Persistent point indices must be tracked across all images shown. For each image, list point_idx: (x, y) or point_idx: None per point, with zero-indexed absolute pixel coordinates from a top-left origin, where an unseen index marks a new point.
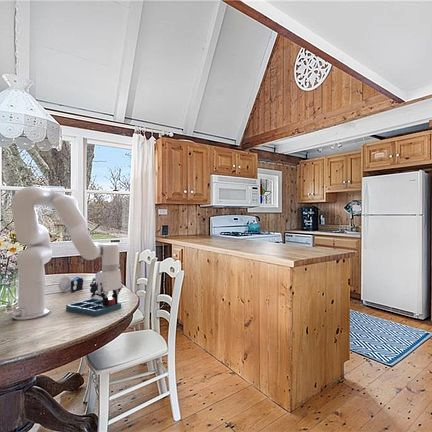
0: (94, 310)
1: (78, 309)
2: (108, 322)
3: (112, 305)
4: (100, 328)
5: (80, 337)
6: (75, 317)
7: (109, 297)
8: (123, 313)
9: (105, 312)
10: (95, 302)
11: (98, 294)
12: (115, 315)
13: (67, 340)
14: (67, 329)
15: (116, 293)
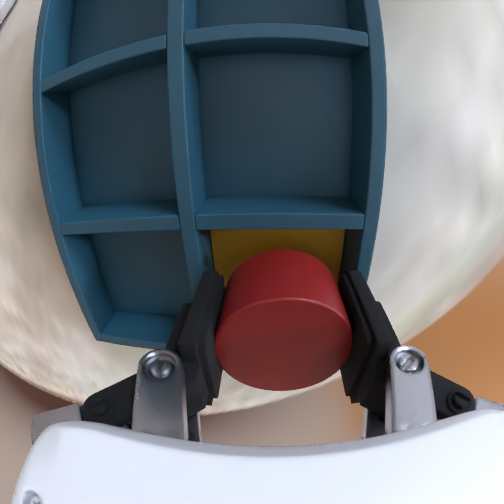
0: (92, 328)
1: (47, 128)
2: None
3: None
4: None
5: (50, 391)
6: (34, 213)
7: (317, 318)
8: (253, 391)
9: None
10: (265, 41)
11: (74, 406)
12: None
13: (27, 376)
14: (15, 325)
15: (366, 413)
